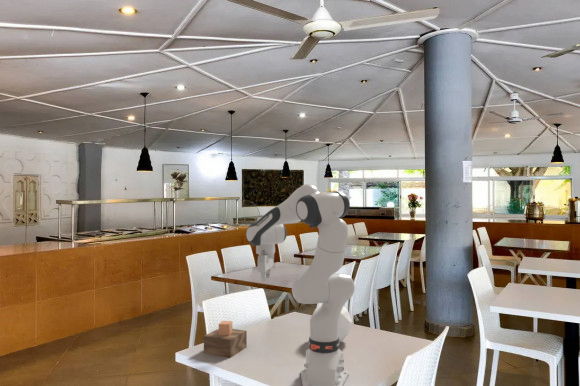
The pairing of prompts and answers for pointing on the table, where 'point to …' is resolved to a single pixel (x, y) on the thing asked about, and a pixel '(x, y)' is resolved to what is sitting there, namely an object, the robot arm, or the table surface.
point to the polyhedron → (341, 322)
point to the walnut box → (225, 343)
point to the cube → (225, 327)
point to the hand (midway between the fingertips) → (265, 279)
